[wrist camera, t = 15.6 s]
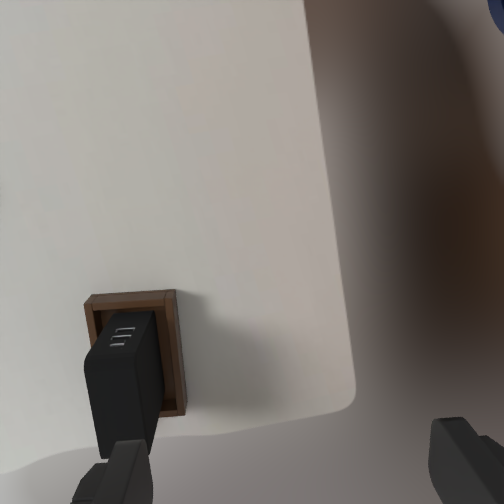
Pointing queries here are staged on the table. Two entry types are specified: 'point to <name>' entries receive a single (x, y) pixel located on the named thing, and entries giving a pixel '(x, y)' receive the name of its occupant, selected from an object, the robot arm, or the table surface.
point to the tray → (168, 333)
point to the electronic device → (125, 380)
